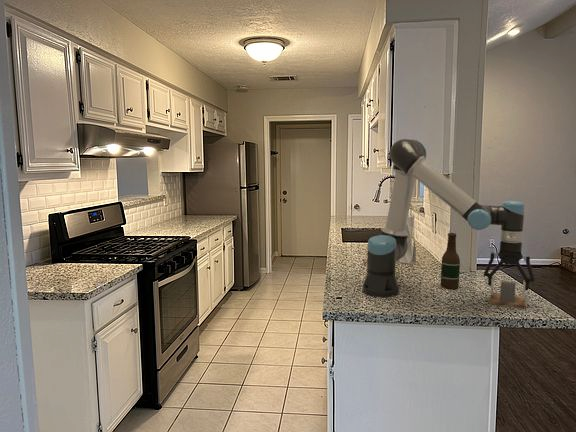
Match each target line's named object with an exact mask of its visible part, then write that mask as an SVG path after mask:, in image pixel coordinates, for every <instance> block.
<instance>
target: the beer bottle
mask: <svg viewBox="0 0 576 432" xmlns="http://www.w3.org/2000/svg"><path fill="white" fill-rule="evenodd" d="M446 245H447V246H446V250H445V252H443V254H442V256H441V268H440V270H441V271H440V287H441V288H444V289H447V290H457V289H458V288H459V285H460V268H461V267H460V266H461V262H460V261H461V259H460V256H459V254H458V253H457V234H456V232H455V233H454V232H449V233H447V244H446ZM456 288H457V289H456Z"/></svg>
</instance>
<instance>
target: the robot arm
mask: <svg viewBox="0 0 576 432" xmlns="http://www.w3.org/2000/svg"><path fill="white" fill-rule="evenodd" d="M389 157H390V160H391V162H392V164H393V167H392V170H393V171H394V173H395V175H394V179H393V180H394V182H393V186H392V191H391V198H390V202H389V206H388V207H389V208H388V211H387V216H386V217H387V218H386V224H385V227H383V228H381V232H380V235H379V234H378V235H374V236H371V237H370V238H369V239H368V241H367V261H366V263H367V264H366V265H367V267H366V268H367V269H366V270H367V271H366V275H365V278H364V281H363V284H362V292H363V294H366V295H367V296H368V295H369V296H372V297H379V298H389V297H391V298H392V297H395V296H397V295H398V294H399V293H400V287H399V283H398V280H397V276H396V262H397V261H399V259H401V258H402V257H403V256H404V255H405V254H406V252H407V249H408V242H407V237H408V233H407V232H406V230H405V229H406V224H407V219H408V214H410V213H409V212H410V208H411V203H412V199H413V192H414V188H415V183H416V180H417V181H418V182H420V183H421V184H422V185H424V186H425V188H427V189H428V190H429V191H431V192H432V193H433V194H434V195H435V196H436V197H437V198H439V199H440V200H441V201H442V202H444V203H445V204H446V205H447V206H449V207H450V208H451V209H452V210H453V211H454V212H456V213H457V214H458V215H459V216H461V217H462V218H463V219H464V220H465V221H466V222H467V223H468V226H470V228H471V229H473V230H477V231H482V230H485V229H486V228H488V227H489V226H490V225H495V226H501V227H500V240H501V241H499V242H500V243H499V252H493V251H492V252H490V258H489V261H488V264H487V266H486V267H485V270H484V273H483V276H484V277H487V285H488V286H490V296H491V295H493V292H494V281H495V277H494V275H495V274H496V273H497V271H499V269H500V268H501V267H502V266H503V265H507V266H508V265H511V266H515V267H516V268H517V269H518V271H519V273H520V274H521V276H522V278H523V279H524V280H523V282H522V284H523V285H522V294H521V296H522V299H524V300H525V296H526V291H529V290H530V289H529V288H530V283H531V282H535V277H534V276H535V275H534V272H533V269H532V266H531V262H530V260H531V256H530V255H524V254H522V247H523V245H522V244H523V243H522V241H523V234H524V231H523V229H524V219H525V203H523V202H522V201H516V200H505V201H503V202H502V205H487V204H486V205H485V204H484V205H483V204H479V203H478V202H477V201H476V200H475V199H473V198H472V197H471V196H469V195H468V194H467V193H466V192H465V191H464V190H463V189H461V188H460V187H458V186H457V185H456V184H455V183H454V182H452V181H451V180H450V179H449V178H447V176H445V175H444V174H442V173H441V171H439V170H438V169H436V168H435V167H434V166H433V165H431V164H430V163H429V162H428V161H426V159H427V148H426V147H425V145H424V144H423V143H422V142H420V141H418V140H417V139H416V140H415V139H407V138H402V139H398V140H397V141H395V142H394V143H393V144H392V146H391V147H390V150H389ZM497 257H498V258H499V262H498V263H497V264H496V265H495V266H494V267H493V268H492V270H491V271H490V269H491V267H492V265H493V263H494V261H495V259H497ZM522 259H523V262H525V263H526V264H525V265H526V267H527V270H528V274H529V277H528V275H527V274H526V272H525V270H524V269H523V267H522V265H521V263H520V261H521V260H522ZM489 271H490V273H489Z"/></svg>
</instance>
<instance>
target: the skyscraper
mask: <svg viewBox="0 0 576 432" xmlns="http://www.w3.org/2000/svg"><path fill="white" fill-rule="evenodd" d="M414 224H415V216H414V214H413V213H412V212H410V211H409V214H408V219H407V224H406V229H405V230H406V232H407V233H408V237H407V242H408V249H407V252H406V254H405V255H404V256H403V257H402V258H401V259H399V260H398V261H399V262H398V263H399V264H403V265H405V264H406V265H414V264H416V263H417V260H416V259H417V258H416V256H417V255H416V254H417V253H416V250H417V246H416V239H414V242H413V247H412V237H413V233H414Z"/></svg>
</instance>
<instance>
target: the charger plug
mask: <svg viewBox="0 0 576 432" xmlns="http://www.w3.org/2000/svg"><path fill="white" fill-rule="evenodd" d="M500 283H501V284H500V301H506V302H513V303H514V298H515V294H516V282H514V281H510V280H509V281H508V280H501V282H500Z"/></svg>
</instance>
